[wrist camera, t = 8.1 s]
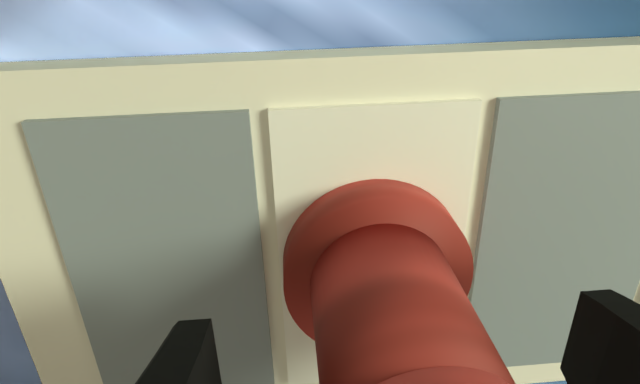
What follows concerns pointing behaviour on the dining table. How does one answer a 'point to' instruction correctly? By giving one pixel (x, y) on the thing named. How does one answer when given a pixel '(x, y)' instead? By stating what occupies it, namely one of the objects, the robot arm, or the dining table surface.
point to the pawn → (387, 289)
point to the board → (307, 191)
